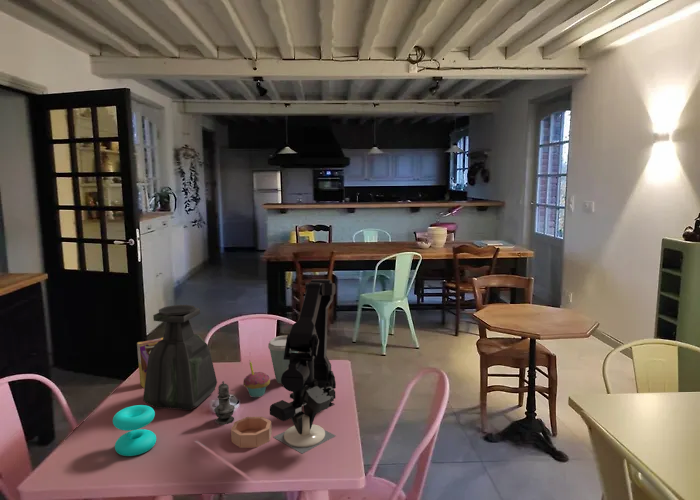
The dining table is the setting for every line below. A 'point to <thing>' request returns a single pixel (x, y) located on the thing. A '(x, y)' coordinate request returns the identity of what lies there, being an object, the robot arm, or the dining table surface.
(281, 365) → the disposable coffee cup
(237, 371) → the dining table surface
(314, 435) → the lid
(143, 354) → the candy box
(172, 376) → the bottle
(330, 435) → the mat
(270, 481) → the dining table surface
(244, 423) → the bowl
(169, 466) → the dining table surface
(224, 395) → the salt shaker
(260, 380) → the cupcake
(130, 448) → the donuts
